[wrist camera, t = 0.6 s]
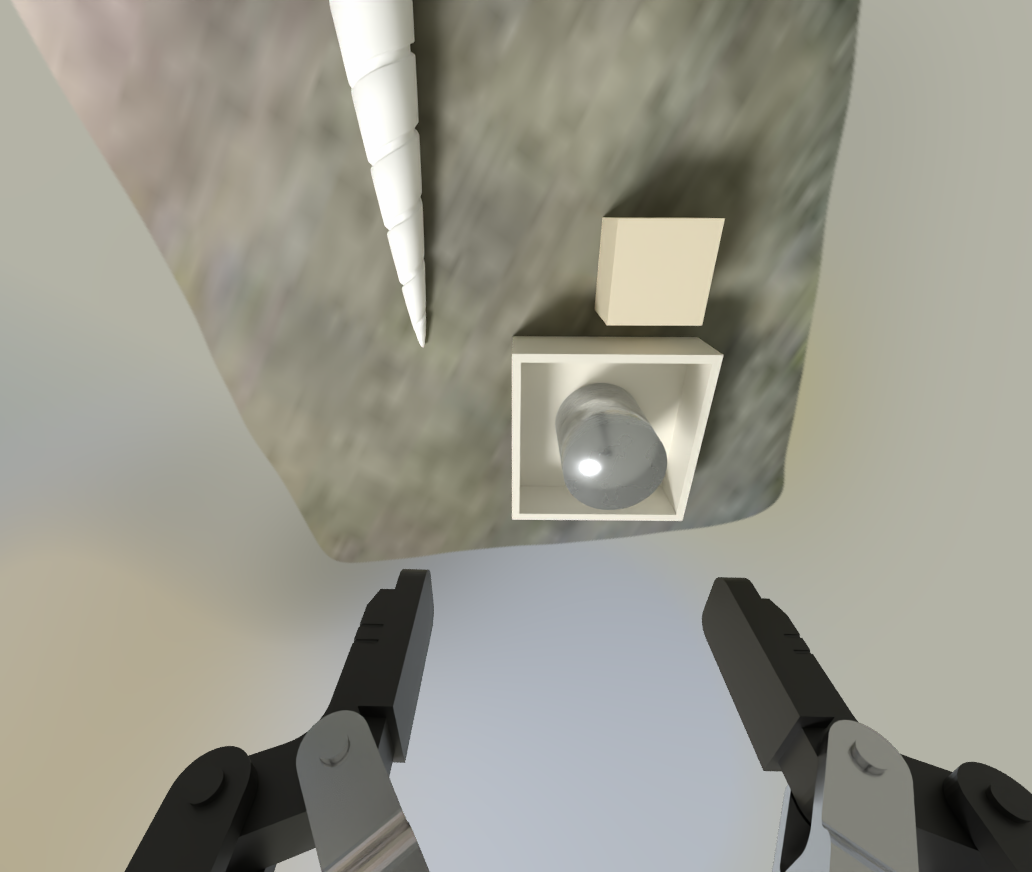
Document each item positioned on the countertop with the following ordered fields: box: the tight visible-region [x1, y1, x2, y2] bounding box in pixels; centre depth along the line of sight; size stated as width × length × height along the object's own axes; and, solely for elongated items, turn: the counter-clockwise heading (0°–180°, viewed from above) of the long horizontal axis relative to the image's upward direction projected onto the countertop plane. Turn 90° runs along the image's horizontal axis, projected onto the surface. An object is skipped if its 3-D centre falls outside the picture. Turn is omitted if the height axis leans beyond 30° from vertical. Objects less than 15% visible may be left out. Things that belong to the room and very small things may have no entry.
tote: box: [512, 336, 723, 521], centre depth 33 cm, size 14×14×4 cm
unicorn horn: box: [329, 0, 426, 347], centre depth 24 cm, size 5×24×5 cm, turn 178°
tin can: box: [555, 383, 667, 510], centre depth 31 cm, size 7×7×7 cm
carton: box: [595, 217, 725, 326], centre depth 27 cm, size 6×6×5 cm
